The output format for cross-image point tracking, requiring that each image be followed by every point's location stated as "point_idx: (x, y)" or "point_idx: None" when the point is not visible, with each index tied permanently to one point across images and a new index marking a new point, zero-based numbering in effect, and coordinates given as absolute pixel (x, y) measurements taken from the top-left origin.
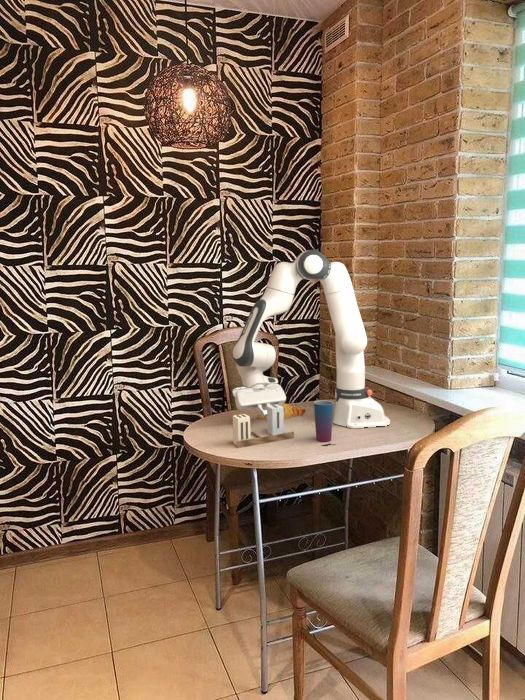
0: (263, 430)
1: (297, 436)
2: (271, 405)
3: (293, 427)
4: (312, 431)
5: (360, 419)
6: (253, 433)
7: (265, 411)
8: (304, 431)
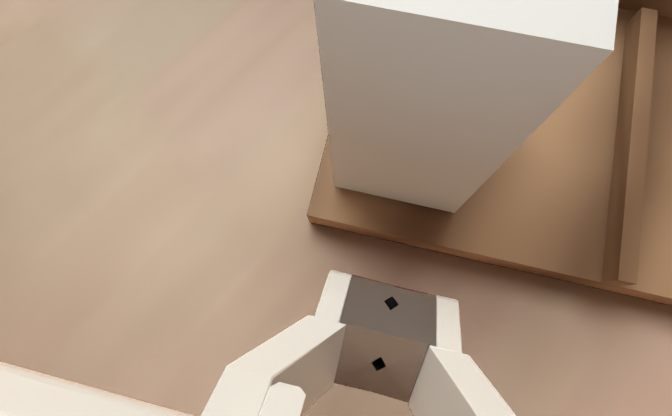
0: (359, 391)
1: (259, 45)
2: (483, 17)
3: (82, 252)
4: (74, 58)
5: None
6: (641, 222)
7: (411, 324)
8: (116, 100)
